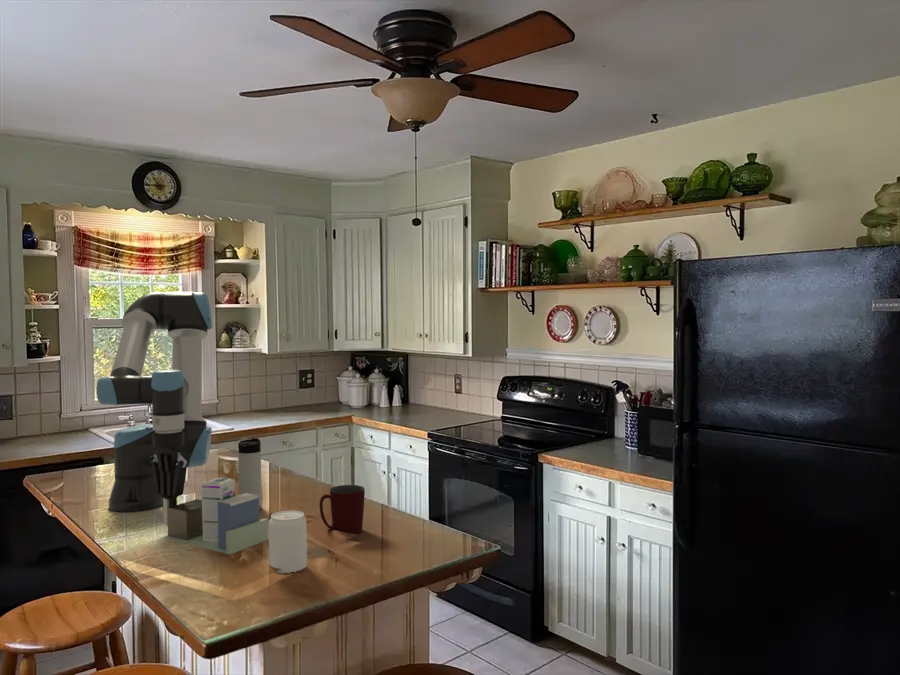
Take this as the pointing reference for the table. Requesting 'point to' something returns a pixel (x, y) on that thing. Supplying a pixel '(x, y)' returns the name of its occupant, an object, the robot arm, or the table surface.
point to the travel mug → (250, 467)
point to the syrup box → (214, 504)
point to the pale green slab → (233, 538)
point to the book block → (236, 514)
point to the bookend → (185, 520)
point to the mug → (345, 508)
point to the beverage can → (288, 541)
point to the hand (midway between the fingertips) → (169, 522)
